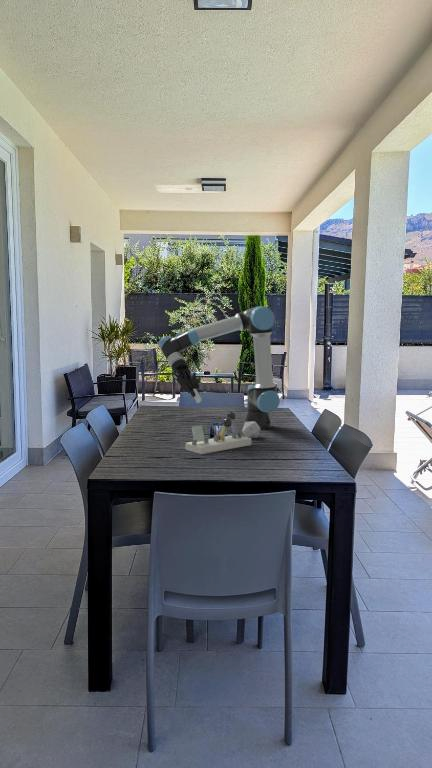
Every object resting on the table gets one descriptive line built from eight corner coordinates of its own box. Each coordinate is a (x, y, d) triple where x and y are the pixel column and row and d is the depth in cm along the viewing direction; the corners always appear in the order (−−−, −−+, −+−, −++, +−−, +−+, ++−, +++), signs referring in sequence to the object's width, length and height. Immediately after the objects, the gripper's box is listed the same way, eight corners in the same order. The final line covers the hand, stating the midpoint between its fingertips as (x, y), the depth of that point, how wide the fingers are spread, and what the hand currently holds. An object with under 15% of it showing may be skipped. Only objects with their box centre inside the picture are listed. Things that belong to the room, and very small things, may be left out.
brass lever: (214, 436, 250) (223, 416, 244) (220, 435, 252) (229, 416, 247) (219, 442, 247) (228, 422, 242) (225, 441, 250) (234, 421, 244)
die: (238, 438, 274) (242, 425, 267) (245, 427, 280) (248, 414, 273) (253, 445, 272) (257, 432, 266) (259, 434, 278) (264, 421, 272)
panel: (185, 449, 245) (185, 437, 244) (235, 440, 264) (235, 429, 264) (200, 454, 237) (201, 441, 236) (251, 444, 256) (251, 433, 256)
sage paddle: (194, 442, 242) (191, 427, 243) (203, 441, 245) (200, 425, 246) (196, 442, 241) (192, 426, 242) (205, 440, 244) (201, 425, 246)
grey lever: (230, 437, 258) (224, 413, 260) (237, 436, 260) (230, 413, 263) (236, 434, 255) (229, 411, 257) (242, 433, 257) (235, 410, 260)
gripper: (184, 367, 275) (206, 404, 265) (163, 369, 267) (185, 407, 256) (191, 357, 271) (213, 395, 260) (170, 359, 262) (192, 397, 252)
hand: (199, 401), depth 258 cm, fingers closed
